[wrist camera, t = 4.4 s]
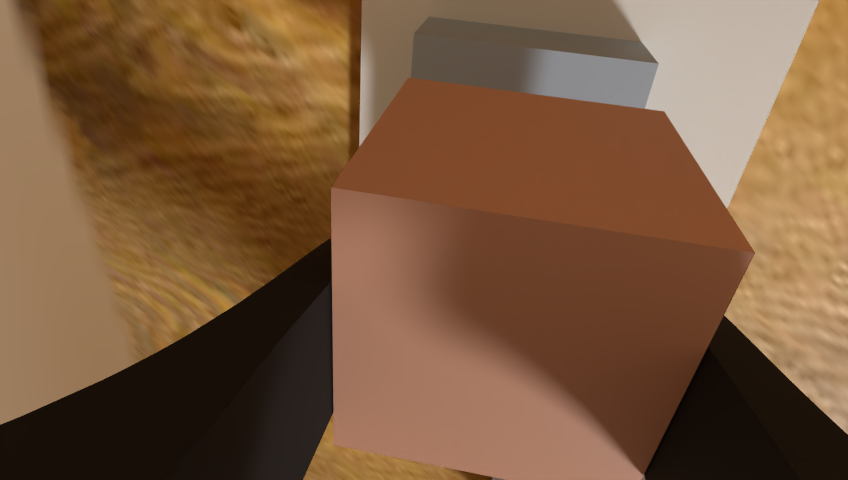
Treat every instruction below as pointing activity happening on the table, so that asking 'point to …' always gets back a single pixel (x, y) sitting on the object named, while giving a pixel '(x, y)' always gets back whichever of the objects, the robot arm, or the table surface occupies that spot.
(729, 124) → the board
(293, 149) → the table surface
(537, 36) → the base brick
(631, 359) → the top brick
